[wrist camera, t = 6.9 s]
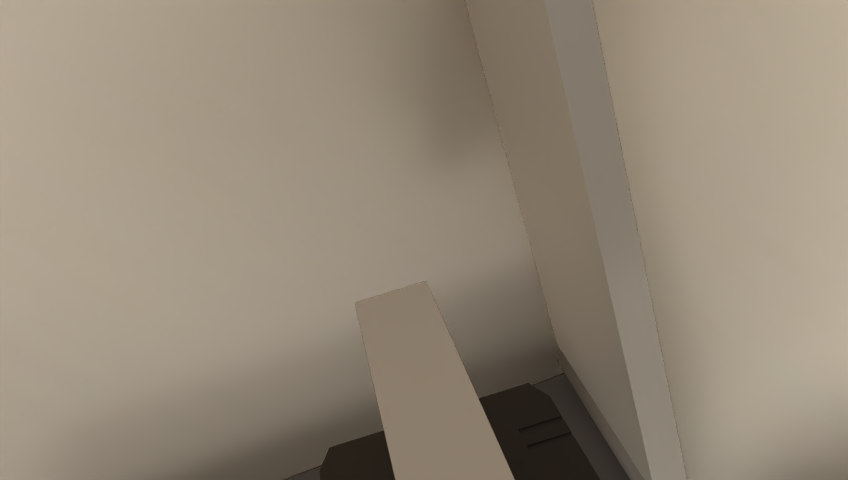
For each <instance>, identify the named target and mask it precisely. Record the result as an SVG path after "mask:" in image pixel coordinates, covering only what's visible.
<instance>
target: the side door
mask: <svg viewBox="0 0 848 480" xmlns="http://www.w3.org/2000/svg"><path fill="white" fill-rule="evenodd" d="M465 3H466V6H467V10H468V14H469V17H470V21H471V25H472V29H473V32H474V36H475V40H476V44H477V47H478V51H479V55H480V58H481V62H482V66H483V70H484V73H485V77H486V81H487V85H488V88H489V92H490V96H491V100H492V103H493V107H494V111H495V114H496V118H497V122H498V126H499V129H500V133H501V137H502V141H503V144H504V148H505V152H506V156H507V159H508V163H509V167H510V170H511V174H512V178H513V182H514V185H515V189H516V193H517V197H518V200H519V204H520V208H521V211H522V215H523V219H524V223H525V226H526V230H527V234H528V238H529V241H530V245H531V249H532V253H533V256H534V260H535V264H536V267H537V271H538V275H539V279H540V282H541V286H542V290H543V294H544V297H545V301H546V305H547V309H548V312H549V316H550V320H551V323H552V327H553V331H554V335H555V338H556V342H557V345H558V346H559V348H560V349H561V351H560V353H559V355H558V363H559V365H560V367H561V369H562V370H563V372H564V373H565V375H566V377H567V378H568V380H569V382H570V383H571V385H572V386H573V388H574V390H575V391H576V393H577V394H578V396H579V398H580V399H581V401H582V403H583V404H584V406H585V407H586V409H587V411H588V412H589V414H590V415H591V417H592V419H593V420H594V422H595V424H596V425H597V427H598V428H599V430H600V432H601V433H602V435H603V436H604V438H605V440H606V441H607V443H608V445H609V446H610V448H611V449H612V451H613V453H614V454H615V456H616V458H617V459H618V461H619V462H620V464H621V466H622V467H623V469H624V470H625V472H626V474H627V475H628V477H629V479H630V480H687V477H686V472H685V467H684V462H683V457H682V452H681V447H680V442H679V437H678V432H677V427H676V422H675V417H674V412H673V407H672V402H671V397H670V391H669V386H668V381H667V376H666V371H665V366H664V361H663V356H662V351H661V346H660V341H659V336H658V331H657V326H656V321H655V316H654V311H653V306H652V301H651V296H650V291H649V286H648V280H647V275H646V270H645V265H644V260H643V255H642V250H641V245H640V240H639V235H638V230H637V225H636V220H635V215H634V210H633V205H632V200H631V195H630V190H629V185H628V180H627V174H626V169H625V164H624V159H623V154H622V149H621V144H620V139H619V134H618V129H617V124H616V119H615V114H614V109H613V104H612V99H611V94H610V89H609V84H608V79H607V74H606V69H605V63H604V58H603V53H602V48H601V43H600V38H599V33H598V28H597V23H596V18H595V13H594V8H593V3H592V0H465Z"/></svg>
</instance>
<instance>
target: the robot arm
mask: <svg viewBox="0 0 848 480" xmlns="http://www.w3.org/2000/svg"><path fill="white" fill-rule="evenodd" d="M355 306H356V311H357V315H358V320H359V324H360V328H361V333H362V337H363V341H364V346H365V350H366V354H367V359H368V363H369V367H370V372H371V376H372V380H373V385H374V389H375V393H376V398H377V402H378V406H379V411H380V415H381V419H382V424H383V428H384V431H381V432H378V433H375V434H371V435H368V436H365V437H362V438H359V439H355V440H352V441H349V442H346V443H343V444H339V445H336V446H333V447H330V448H329V450H328V453H327V455H326V457H325V460H324V462H323V464H322V467H321V469H320V480H600V478H599V477H598V475H597V473H596V472H595V470H594V468H593V467H592V465H591V463H590V462H589V460H588V458H587V457H586V455H585V453H584V452H583V450H582V449H581V447H580V445H579V444H578V442H577V440H576V439H575V437H574V436H573V435H572V432H571V430H570V429H569V427H568V425H567V424H566V422H565V420H563V418H562V415H561V414H560V412H559V410H558V409H557V407H556V405H555V404H554V402H553V400H552V399H551V397H550V396H549V395H547V394H545V393H544V392H542V391H540V390H539V389H537V388H536V387H534V386H532V385H531V384H529V383H527V384H524V385H521V386H518V387H515V388H511V389H508V390H505V391H502V392H499V393H495V394H492V395H489V396H486V397H483V398H479V399H478V396H477V394H476V392H475V390H474V388H473V385H472V383H471V381H470V379H469V376H468V374H467V372H466V370H465V367H464V365H463V363H462V361H461V358H460V356H459V354H458V352H457V350H456V347H455V345H454V343H453V341H452V338H451V336H450V334H449V332H448V329H447V327H446V325H445V323H444V321H443V318H442V316H441V314H440V312H439V309H438V307H437V305H436V303H435V300H434V298H433V296H432V294H431V291H430V289H429V287H428V285H427V283H426V281H425V282H421V283H418V284H415V285H411V286H408V287H405V288H401V289H398V290H395V291H391V292H388V293H384V294H381V295H378V296H374V297H371V298H368V299H364V300H361V301H358V302H355Z"/></svg>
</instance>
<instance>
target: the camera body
mask: <svg viewBox="0 0 848 480" xmlns="http://www.w3.org/2000/svg"><path fill="white" fill-rule="evenodd" d="M533 386H534V387H536V388H537V389H539V390H540V391H542V392H544V393H545V394H547V395H549V396H550V397H551V399H552V400H553V402H554V404H555V405H556V407H557V409H558V410H559V412H560V414H561V415H562V418H563V420H565V422H566V424H567V425H568V427H569V429H570V430H571V432H572V435H573V436H574V437H575V439H576V440H577V442H578V444H579V445H580V447H581V449H582V450H583V452H584V453H585V455H586V457H587V458H588V460H589V462H590V463H591V465H592V467H593V468H594V470H595V472H596V473H597V475H598V477H599V478H600V480H630V479H629V477H628V475H627V474H626V472H625V470H624V469H623V467H622V466H621V464H620V462H619V461H618V459H617V458H616V456H615V454H614V453H613V451H612V449H611V448H610V446H609V445H608V443H607V441H606V440H605V438H604V436H603V435H602V433H601V432H600V430H599V428H598V427H597V425H596V424H595V422H594V420H593V419H592V417H591V415H590V414H589V412H588V411H587V409H586V407H585V406H584V404H583V403H582V401H581V399H580V398H579V396H578V394H577V393H576V391H575V390H574V388H573V386H572V385H571V383H570V382H569V380H568V378H567V377H566V375H565V373H564V374H562V375H559V376H556V377H554V378H551V379H549V380H546V381H543V382H541V383H538V384H535V385H533ZM321 467H322V466H320V467H317V468H314V469H312V470H309V471H307V472H304V473H301V474H299V475H296V476H293V477H291V478H288V479H286V480H320V469H321Z"/></svg>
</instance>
